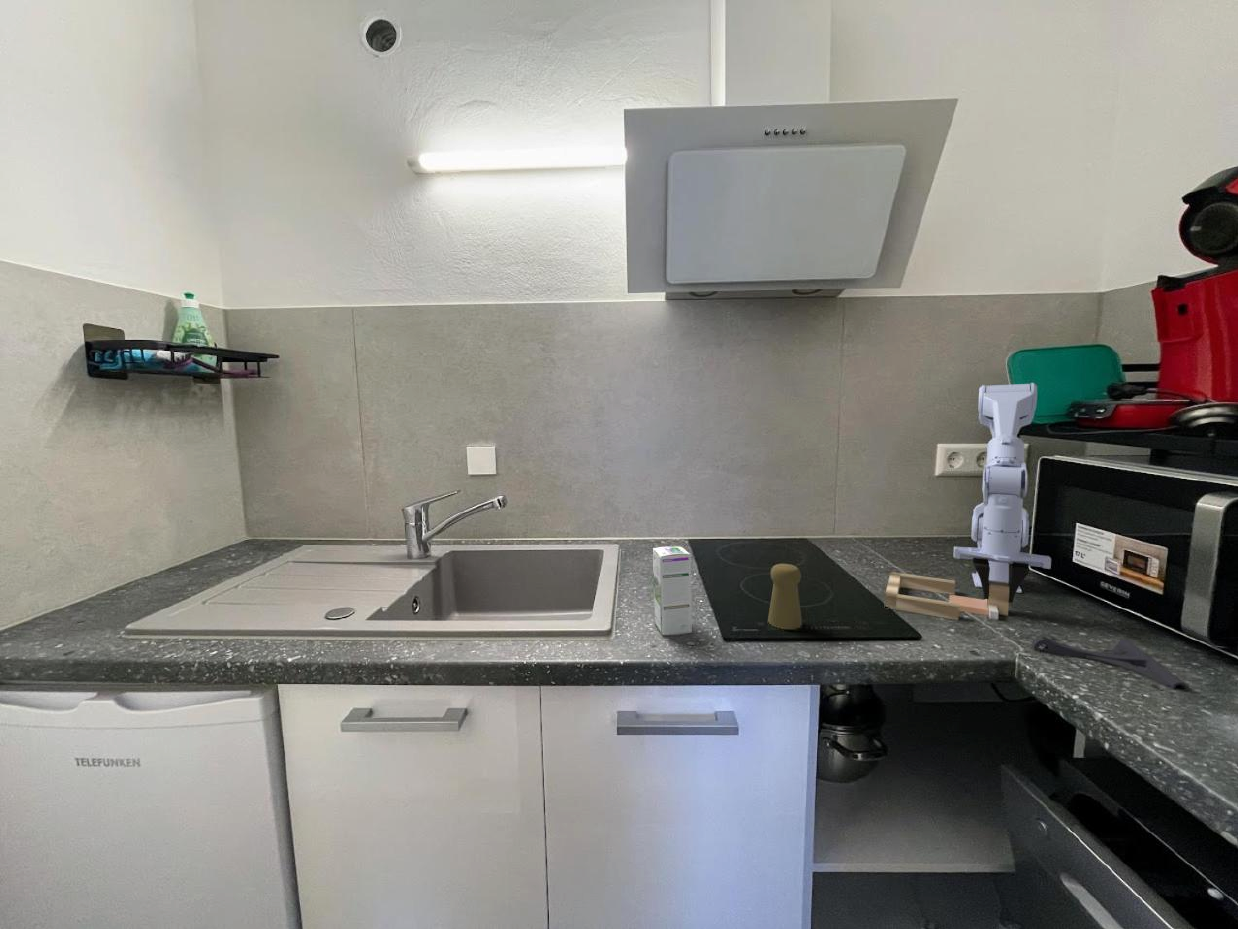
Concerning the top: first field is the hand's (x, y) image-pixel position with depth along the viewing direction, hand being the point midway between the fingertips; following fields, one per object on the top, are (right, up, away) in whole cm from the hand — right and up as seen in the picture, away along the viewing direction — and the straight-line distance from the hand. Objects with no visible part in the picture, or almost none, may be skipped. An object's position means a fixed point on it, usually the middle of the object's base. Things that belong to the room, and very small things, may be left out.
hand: (997, 599), depth 95 cm
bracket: (+1, -5, -18) cm, 19 cm away
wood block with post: (-1, -2, +1) cm, 3 cm away
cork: (-42, -4, -4) cm, 43 cm away
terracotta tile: (-4, -3, +3) cm, 5 cm away
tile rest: (-11, -2, +7) cm, 14 cm away
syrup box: (-63, -4, -5) cm, 63 cm away
